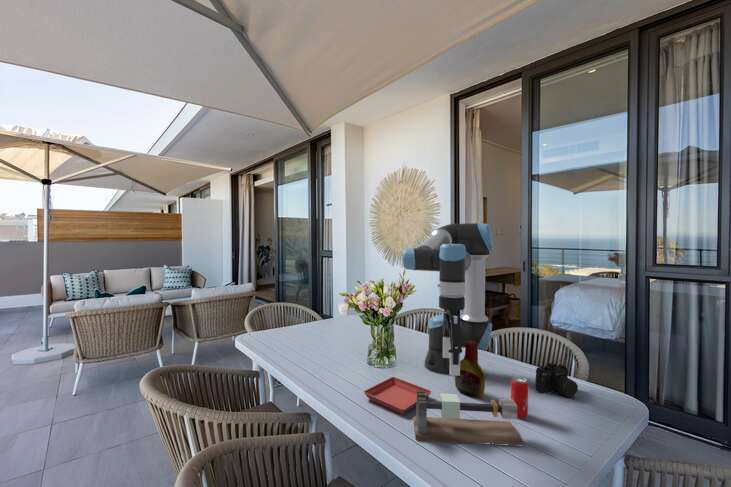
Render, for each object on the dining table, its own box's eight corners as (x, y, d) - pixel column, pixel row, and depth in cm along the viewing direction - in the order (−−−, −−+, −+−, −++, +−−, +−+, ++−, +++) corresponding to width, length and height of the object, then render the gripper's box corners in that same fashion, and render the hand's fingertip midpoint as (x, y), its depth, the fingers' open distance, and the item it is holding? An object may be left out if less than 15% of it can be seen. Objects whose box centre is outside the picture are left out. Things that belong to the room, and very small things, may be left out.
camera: (554, 402, 121) (554, 374, 121) (531, 389, 132) (532, 363, 131) (584, 397, 125) (584, 370, 125) (560, 384, 135) (560, 360, 135)
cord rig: (413, 420, 108) (414, 388, 108) (510, 426, 105) (511, 393, 105) (415, 439, 98) (415, 404, 98) (522, 446, 95) (523, 409, 95)
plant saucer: (432, 399, 123) (432, 390, 123) (403, 419, 110) (403, 409, 109) (392, 384, 135) (392, 376, 135) (362, 400, 122) (362, 391, 122)
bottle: (488, 397, 124) (489, 343, 124) (478, 402, 120) (479, 347, 120) (461, 385, 134) (462, 335, 133) (451, 390, 130) (452, 338, 129)
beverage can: (512, 409, 115) (513, 375, 115) (529, 414, 112) (530, 379, 112) (508, 415, 111) (509, 380, 111) (525, 421, 108) (525, 384, 108)
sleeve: (440, 409, 105) (440, 393, 104) (456, 410, 104) (456, 394, 104) (442, 418, 100) (442, 401, 99) (459, 419, 99) (460, 402, 99)
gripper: (434, 288, 114) (433, 351, 114) (445, 303, 89) (444, 383, 89) (456, 289, 113) (455, 351, 113) (474, 304, 88) (473, 384, 89)
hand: (450, 365), depth 101 cm, fingers open, 13 cm apart
